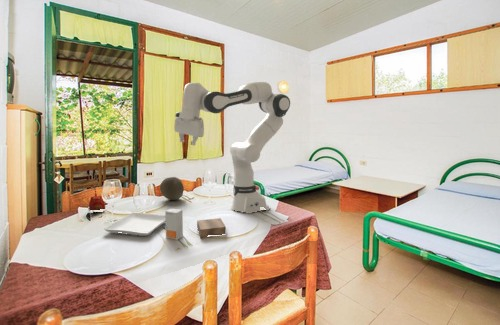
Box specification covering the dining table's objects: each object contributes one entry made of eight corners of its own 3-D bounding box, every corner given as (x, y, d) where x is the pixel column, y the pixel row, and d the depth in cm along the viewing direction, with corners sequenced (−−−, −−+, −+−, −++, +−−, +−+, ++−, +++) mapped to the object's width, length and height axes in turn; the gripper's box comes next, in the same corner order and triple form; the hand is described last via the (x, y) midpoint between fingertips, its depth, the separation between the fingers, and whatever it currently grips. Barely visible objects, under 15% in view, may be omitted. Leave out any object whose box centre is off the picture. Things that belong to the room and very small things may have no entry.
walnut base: (220, 226, 124) (220, 218, 123) (225, 235, 113) (225, 226, 113) (197, 228, 120) (197, 220, 120) (200, 238, 110) (200, 229, 109)
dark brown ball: (174, 196, 174) (173, 174, 172) (188, 199, 166) (188, 177, 164) (156, 200, 163) (155, 177, 161) (170, 205, 155) (169, 180, 153)
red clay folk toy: (90, 215, 136) (88, 187, 134) (88, 211, 141) (86, 184, 139) (106, 212, 140) (104, 185, 138) (104, 208, 146) (102, 183, 144)
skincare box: (165, 237, 110) (164, 210, 108) (171, 234, 114) (171, 208, 112) (177, 240, 108) (176, 212, 106) (183, 236, 112) (182, 209, 110)
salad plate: (147, 240, 108) (147, 232, 108) (103, 235, 112) (102, 228, 111) (171, 222, 129) (171, 215, 128) (133, 218, 132) (132, 212, 132)
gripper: (208, 118, 123) (205, 147, 125) (183, 114, 136) (181, 140, 138) (198, 117, 118) (194, 147, 120) (173, 113, 131) (170, 140, 133)
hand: (187, 143), depth 129 cm, fingers open, 8 cm apart
